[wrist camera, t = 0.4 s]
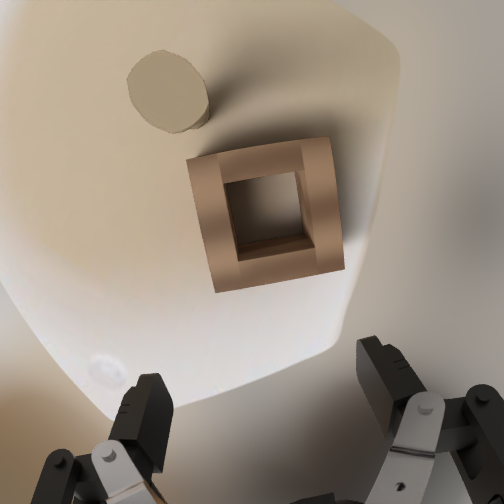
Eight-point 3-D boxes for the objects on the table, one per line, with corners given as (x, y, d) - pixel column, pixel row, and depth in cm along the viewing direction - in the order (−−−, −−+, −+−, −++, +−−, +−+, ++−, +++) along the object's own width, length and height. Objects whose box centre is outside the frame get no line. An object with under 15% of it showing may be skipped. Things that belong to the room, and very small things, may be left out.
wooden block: (194, 158, 34) (186, 159, 28) (314, 138, 34) (329, 135, 28) (218, 272, 38) (215, 293, 33) (329, 252, 38) (344, 269, 33)
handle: (195, 82, 31) (168, 38, 17) (229, 123, 33) (222, 101, 19) (162, 108, 32) (114, 82, 18) (195, 149, 34) (165, 146, 20)
